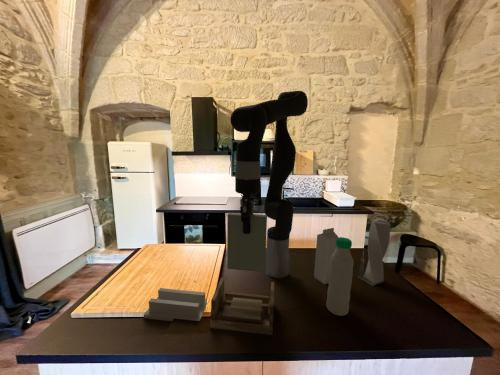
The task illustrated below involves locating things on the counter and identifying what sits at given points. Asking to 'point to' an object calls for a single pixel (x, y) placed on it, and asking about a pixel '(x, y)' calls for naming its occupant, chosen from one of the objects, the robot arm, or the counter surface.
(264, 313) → the oak rack
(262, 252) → the sage panel
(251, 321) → the walnut offcut
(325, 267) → the milk
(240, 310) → the pine offcut
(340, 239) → the water bottle
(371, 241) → the skyscraper
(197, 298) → the grey stand
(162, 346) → the counter surface
